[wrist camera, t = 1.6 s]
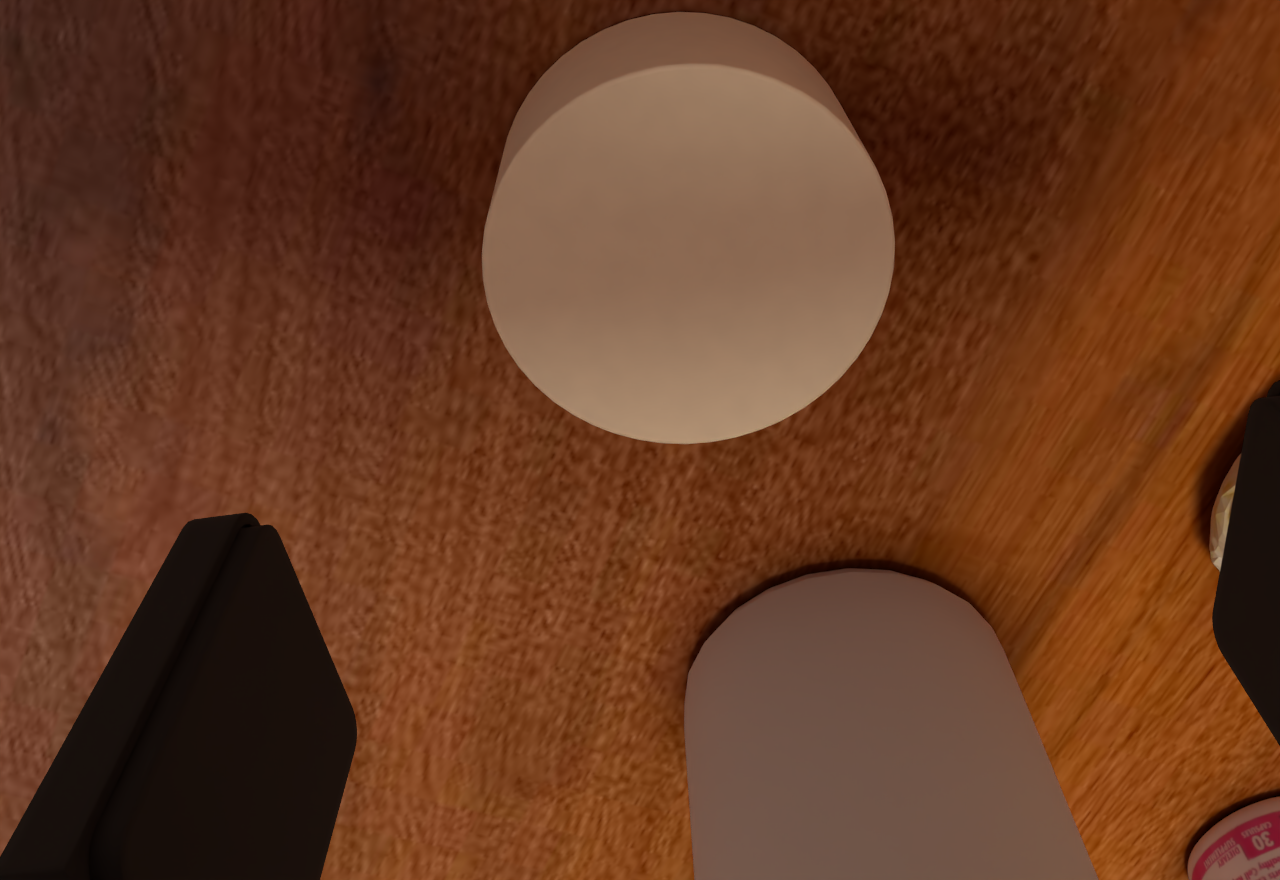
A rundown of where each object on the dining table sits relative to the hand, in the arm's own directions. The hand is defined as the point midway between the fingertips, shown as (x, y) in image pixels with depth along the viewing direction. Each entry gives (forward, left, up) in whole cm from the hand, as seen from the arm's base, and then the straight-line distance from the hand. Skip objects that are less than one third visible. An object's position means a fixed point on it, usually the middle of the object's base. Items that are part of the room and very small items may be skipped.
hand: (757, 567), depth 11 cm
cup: (+3, -13, -10) cm, 16 cm away
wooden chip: (0, 0, -9) cm, 9 cm away
